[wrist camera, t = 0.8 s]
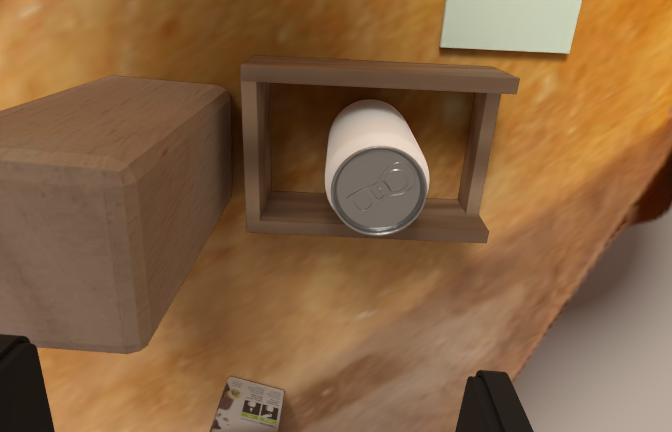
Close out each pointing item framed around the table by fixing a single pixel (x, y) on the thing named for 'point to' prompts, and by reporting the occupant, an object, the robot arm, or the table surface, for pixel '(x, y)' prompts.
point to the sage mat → (510, 25)
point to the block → (107, 207)
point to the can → (375, 169)
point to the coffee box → (248, 408)
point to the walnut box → (487, 82)
